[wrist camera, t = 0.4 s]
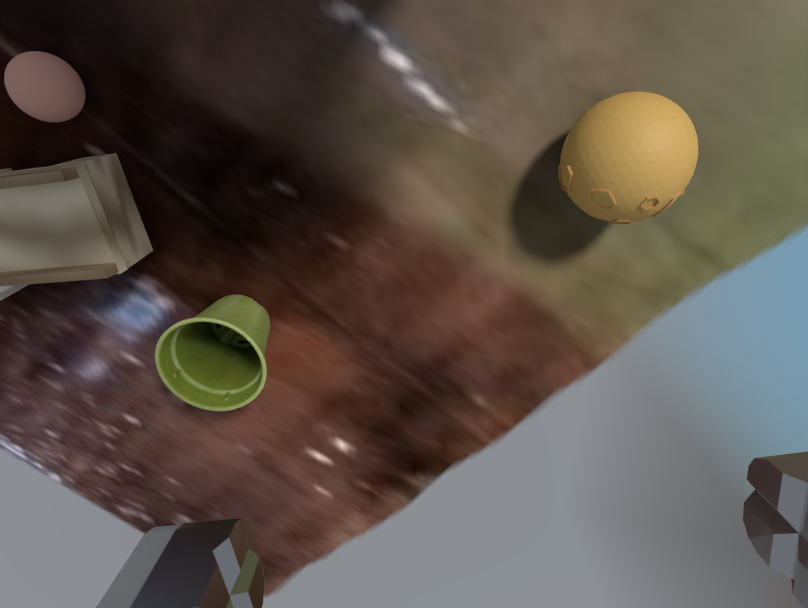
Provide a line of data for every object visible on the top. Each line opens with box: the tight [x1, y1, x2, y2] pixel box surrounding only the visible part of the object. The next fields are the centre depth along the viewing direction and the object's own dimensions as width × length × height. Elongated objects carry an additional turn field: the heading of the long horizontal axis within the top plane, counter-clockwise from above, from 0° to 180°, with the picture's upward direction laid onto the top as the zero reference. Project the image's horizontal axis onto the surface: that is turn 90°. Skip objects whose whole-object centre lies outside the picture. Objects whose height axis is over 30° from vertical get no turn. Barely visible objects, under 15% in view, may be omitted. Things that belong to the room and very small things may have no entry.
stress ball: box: [558, 92, 698, 224], centre depth 37 cm, size 10×10×10 cm
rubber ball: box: [4, 51, 85, 122], centre depth 37 cm, size 5×5×5 cm
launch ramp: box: [0, 153, 153, 286], centre depth 40 cm, size 9×12×7 cm
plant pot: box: [155, 295, 270, 411], centre depth 45 cm, size 9×9×9 cm
